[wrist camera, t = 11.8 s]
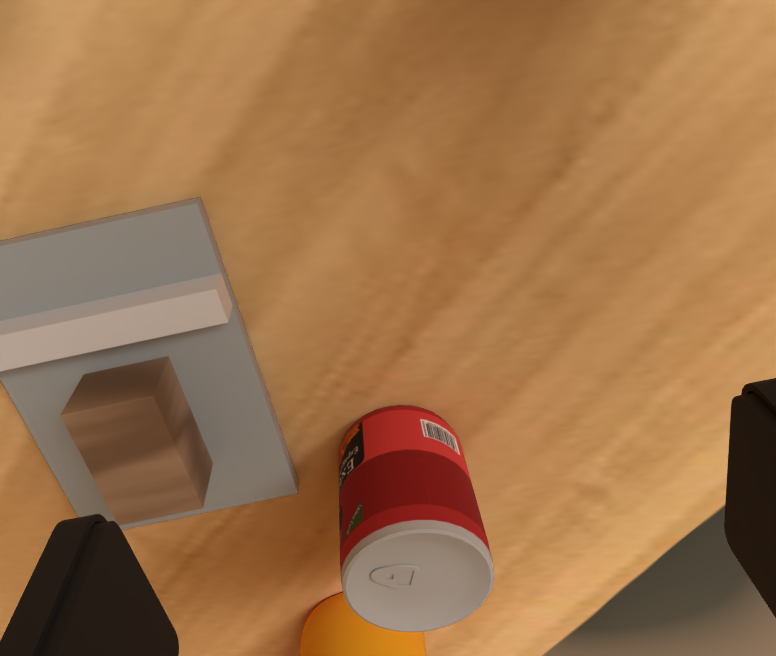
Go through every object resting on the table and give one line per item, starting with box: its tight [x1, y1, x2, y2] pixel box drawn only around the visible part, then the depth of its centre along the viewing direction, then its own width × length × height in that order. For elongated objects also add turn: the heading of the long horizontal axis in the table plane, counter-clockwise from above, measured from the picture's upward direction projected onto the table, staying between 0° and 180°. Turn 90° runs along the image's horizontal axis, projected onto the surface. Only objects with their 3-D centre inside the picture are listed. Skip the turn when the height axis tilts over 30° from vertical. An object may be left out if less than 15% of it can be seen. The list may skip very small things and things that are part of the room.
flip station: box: [0, 197, 299, 530], centre depth 40 cm, size 20×14×3 cm
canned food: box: [338, 405, 494, 632], centre depth 40 cm, size 8×8×11 cm
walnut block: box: [60, 356, 213, 526], centre depth 40 cm, size 4×5×8 cm
